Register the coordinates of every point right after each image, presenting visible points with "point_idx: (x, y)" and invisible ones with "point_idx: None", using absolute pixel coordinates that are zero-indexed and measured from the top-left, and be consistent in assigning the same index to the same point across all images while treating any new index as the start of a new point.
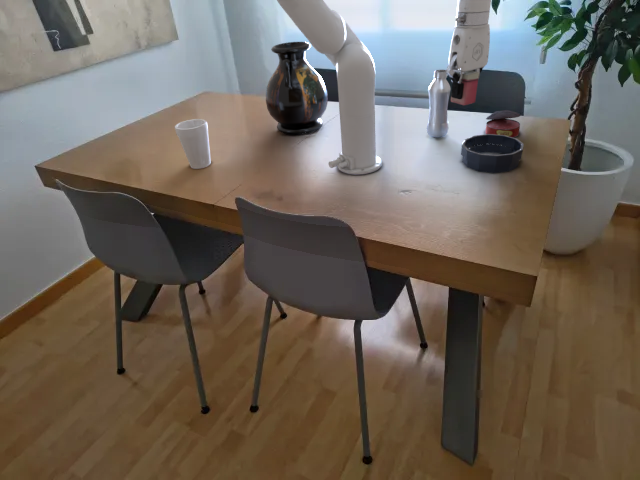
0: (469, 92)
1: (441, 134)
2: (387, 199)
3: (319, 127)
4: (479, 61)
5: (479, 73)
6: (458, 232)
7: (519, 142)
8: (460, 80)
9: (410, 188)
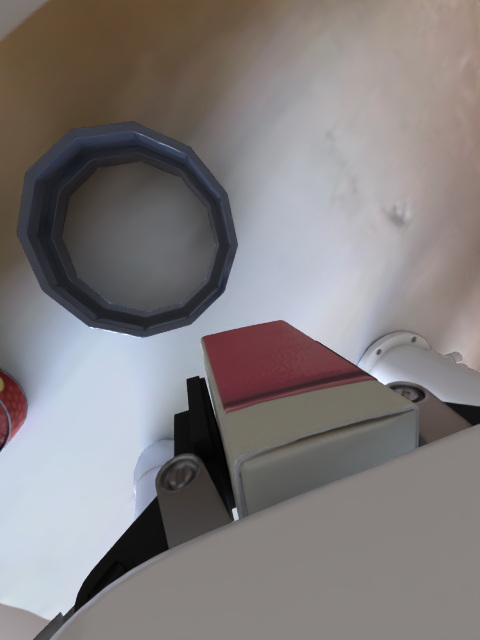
0: (279, 345)
1: (169, 442)
2: (439, 208)
3: None
4: (377, 635)
5: (162, 504)
6: None
7: (32, 196)
8: (418, 395)
9: (383, 224)
